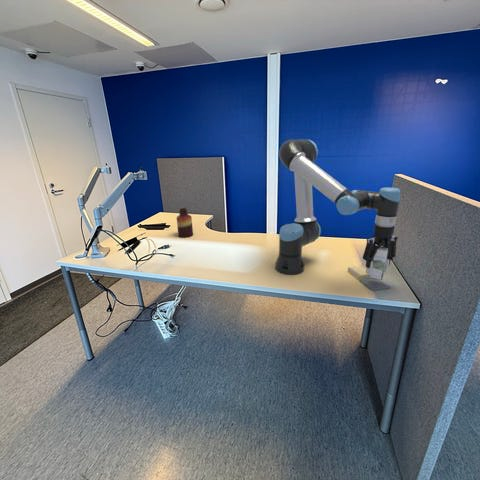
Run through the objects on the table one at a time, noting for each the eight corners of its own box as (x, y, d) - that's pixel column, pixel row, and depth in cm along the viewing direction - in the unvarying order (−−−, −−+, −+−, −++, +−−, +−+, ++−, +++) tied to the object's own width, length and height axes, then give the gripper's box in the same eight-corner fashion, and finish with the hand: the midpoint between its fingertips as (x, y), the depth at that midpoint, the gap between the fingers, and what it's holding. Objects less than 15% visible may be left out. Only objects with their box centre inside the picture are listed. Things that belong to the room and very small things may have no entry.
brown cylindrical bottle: (181, 238, 184) (178, 211, 177) (176, 234, 193) (173, 208, 186) (195, 236, 189) (192, 209, 182) (190, 232, 198) (187, 206, 191)
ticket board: (358, 280, 123) (359, 275, 122) (347, 271, 131) (348, 267, 130) (376, 277, 125) (377, 272, 124) (364, 269, 133) (365, 264, 132)
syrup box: (382, 275, 118) (388, 246, 113) (382, 281, 113) (387, 251, 109) (369, 272, 121) (374, 244, 116) (368, 278, 116) (373, 248, 111)
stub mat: (372, 290, 114) (372, 289, 114) (359, 281, 122) (359, 280, 122) (389, 288, 116) (389, 286, 115) (375, 278, 124) (375, 277, 124)
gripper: (369, 229, 103) (361, 279, 111) (412, 225, 107) (402, 273, 115) (357, 224, 110) (351, 271, 118) (398, 220, 114) (389, 266, 122)
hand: (376, 272), depth 117 cm, fingers closed on syrup box, 8 cm apart
